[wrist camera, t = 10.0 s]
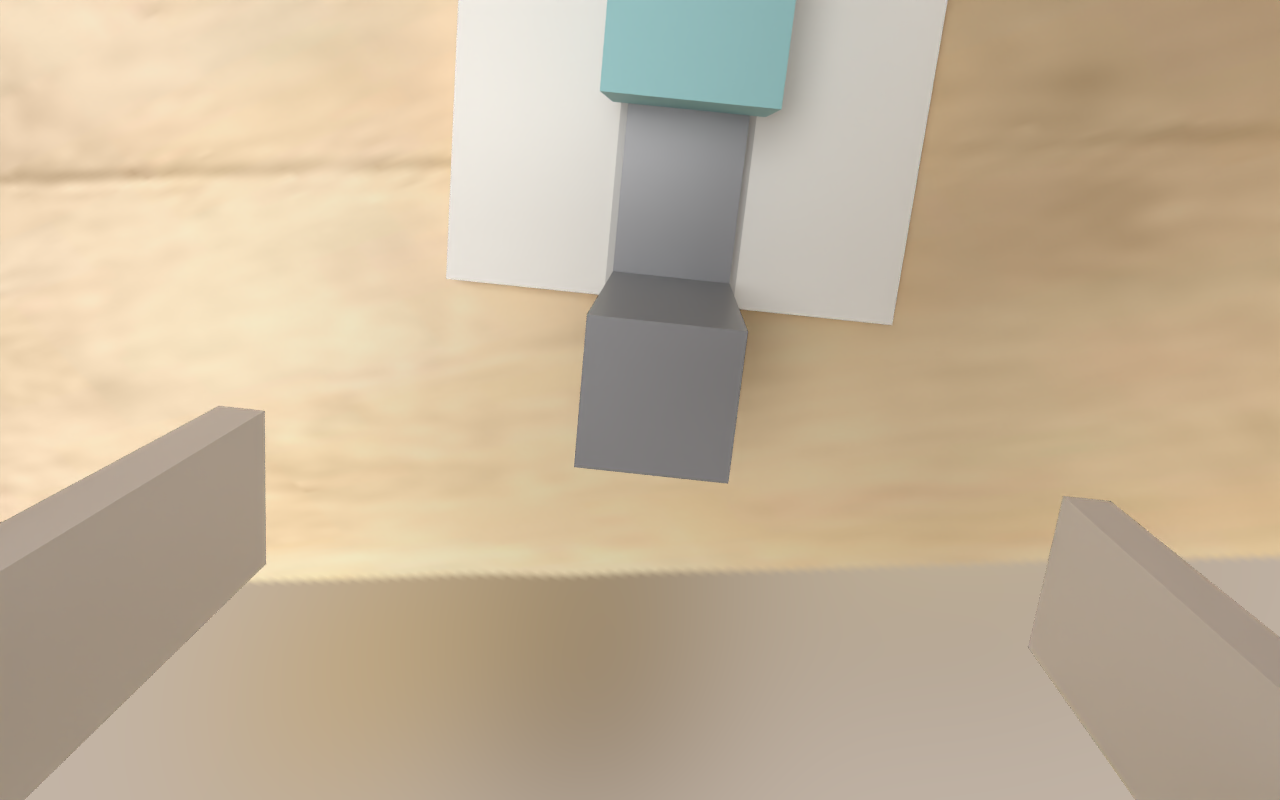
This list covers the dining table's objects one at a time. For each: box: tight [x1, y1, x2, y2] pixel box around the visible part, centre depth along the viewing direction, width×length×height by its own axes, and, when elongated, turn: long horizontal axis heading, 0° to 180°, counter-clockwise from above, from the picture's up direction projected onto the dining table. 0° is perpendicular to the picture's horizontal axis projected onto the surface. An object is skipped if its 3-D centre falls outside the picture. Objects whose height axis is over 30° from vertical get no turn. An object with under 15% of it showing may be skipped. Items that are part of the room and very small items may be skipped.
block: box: [600, 0, 796, 117], centre depth 27 cm, size 5×5×5 cm
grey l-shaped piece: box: [574, 103, 750, 483], centre depth 26 cm, size 4×18×10 cm, turn 174°
